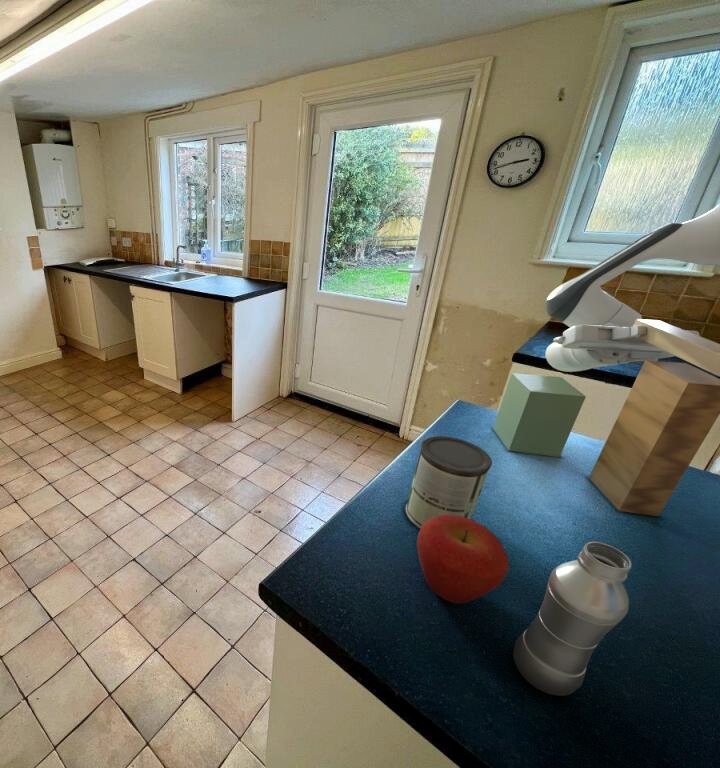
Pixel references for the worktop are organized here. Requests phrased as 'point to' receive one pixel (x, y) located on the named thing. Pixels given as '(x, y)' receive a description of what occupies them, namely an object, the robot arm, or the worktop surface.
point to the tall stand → (656, 435)
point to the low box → (537, 414)
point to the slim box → (682, 344)
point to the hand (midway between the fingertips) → (659, 330)
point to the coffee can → (447, 479)
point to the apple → (460, 558)
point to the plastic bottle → (573, 619)
